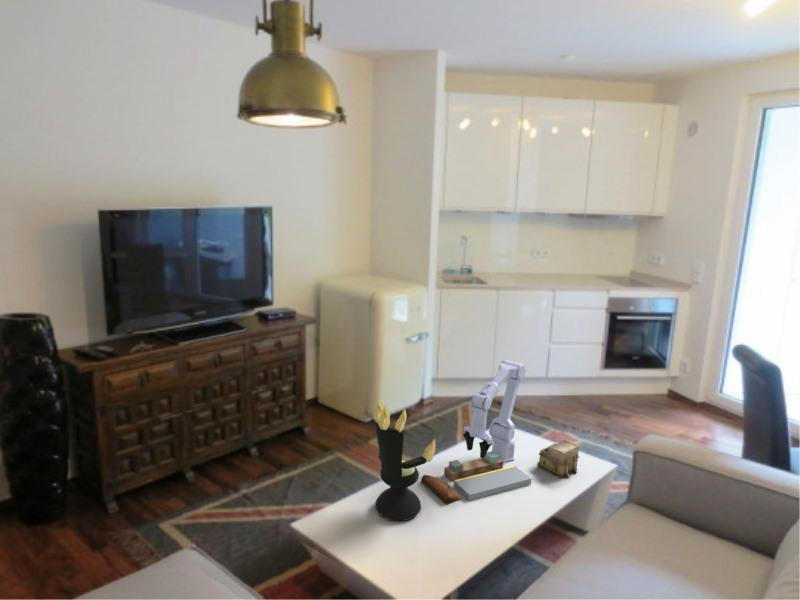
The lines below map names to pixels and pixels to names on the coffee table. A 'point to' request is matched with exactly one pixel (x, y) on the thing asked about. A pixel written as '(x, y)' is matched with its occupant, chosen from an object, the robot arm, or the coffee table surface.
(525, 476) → the dock
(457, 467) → the crate
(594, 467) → the coffee table surface
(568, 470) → the ornate brown chest
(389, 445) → the candelabra
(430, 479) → the sunglasses case
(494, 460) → the teal square block
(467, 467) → the wooden plank
